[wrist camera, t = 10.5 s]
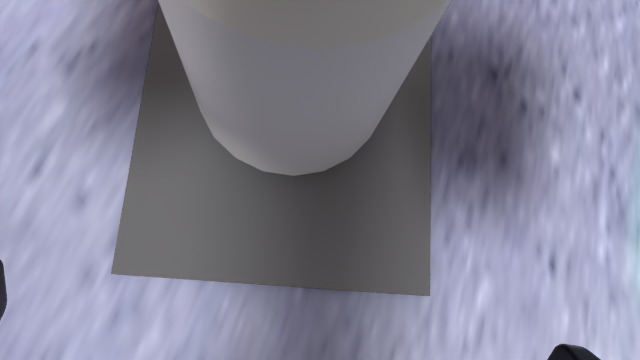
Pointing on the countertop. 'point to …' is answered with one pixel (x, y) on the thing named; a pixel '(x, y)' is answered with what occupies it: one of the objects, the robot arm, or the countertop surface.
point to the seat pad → (275, 197)
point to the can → (297, 72)
